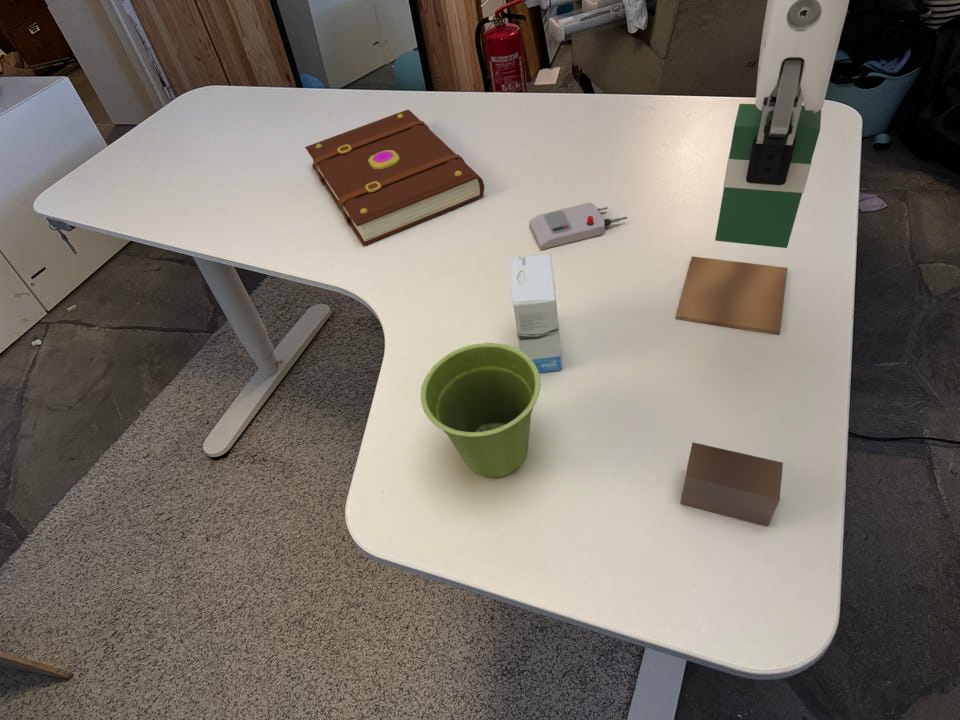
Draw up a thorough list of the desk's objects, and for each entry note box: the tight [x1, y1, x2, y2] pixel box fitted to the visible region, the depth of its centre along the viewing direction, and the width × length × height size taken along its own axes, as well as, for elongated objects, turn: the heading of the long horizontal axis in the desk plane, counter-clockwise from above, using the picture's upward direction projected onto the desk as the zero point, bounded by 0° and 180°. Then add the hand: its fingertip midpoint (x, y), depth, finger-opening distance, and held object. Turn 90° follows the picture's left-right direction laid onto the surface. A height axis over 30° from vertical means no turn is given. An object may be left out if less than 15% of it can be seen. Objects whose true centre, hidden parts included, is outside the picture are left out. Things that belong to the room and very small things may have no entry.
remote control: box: [528, 202, 628, 251], centre depth 91 cm, size 7×16×3 cm, turn 101°
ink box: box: [510, 252, 562, 374], centre depth 72 cm, size 8×5×12 cm, turn 179°
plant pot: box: [420, 342, 541, 479], centre depth 63 cm, size 12×12×11 cm
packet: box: [714, 103, 822, 249], centre depth 55 cm, size 9×7×12 cm
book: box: [304, 109, 485, 247], centre depth 108 cm, size 23×32×5 cm
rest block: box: [679, 442, 784, 528], centre depth 57 cm, size 8×4×5 cm, turn 68°
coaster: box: [675, 256, 788, 336], centre depth 77 cm, size 12×12×1 cm
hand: (767, 165), depth 54 cm, fingers closed on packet, 4 cm apart
